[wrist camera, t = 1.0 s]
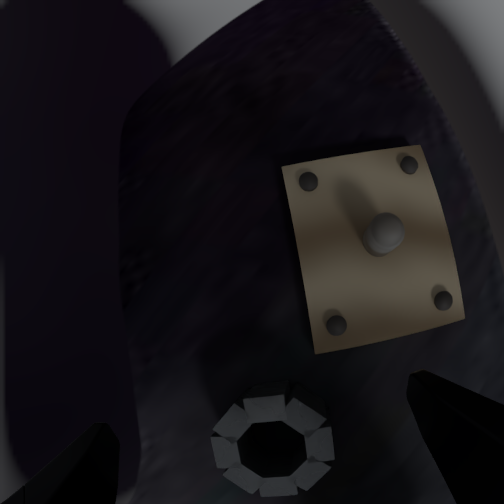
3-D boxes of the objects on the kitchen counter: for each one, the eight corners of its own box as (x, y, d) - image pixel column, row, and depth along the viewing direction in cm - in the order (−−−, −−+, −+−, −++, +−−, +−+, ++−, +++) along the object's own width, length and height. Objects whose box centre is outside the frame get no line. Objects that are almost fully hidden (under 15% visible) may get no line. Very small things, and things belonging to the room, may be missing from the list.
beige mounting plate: (457, 318, 17) (490, 319, 13) (314, 351, 19) (315, 364, 14) (415, 152, 20) (434, 118, 15) (283, 174, 21) (274, 141, 17)
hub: (334, 463, 17) (337, 489, 14) (237, 471, 18) (224, 496, 15) (324, 374, 18) (326, 388, 15) (221, 387, 20) (203, 401, 16)
